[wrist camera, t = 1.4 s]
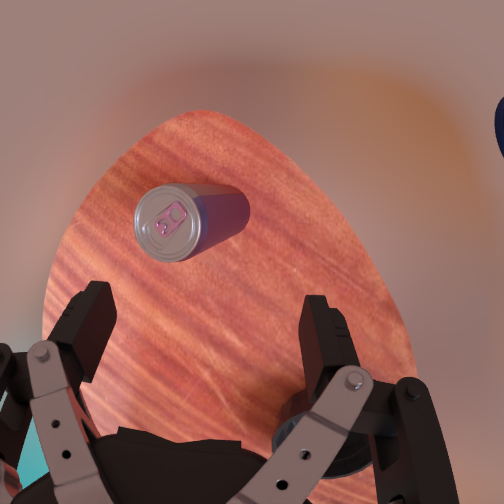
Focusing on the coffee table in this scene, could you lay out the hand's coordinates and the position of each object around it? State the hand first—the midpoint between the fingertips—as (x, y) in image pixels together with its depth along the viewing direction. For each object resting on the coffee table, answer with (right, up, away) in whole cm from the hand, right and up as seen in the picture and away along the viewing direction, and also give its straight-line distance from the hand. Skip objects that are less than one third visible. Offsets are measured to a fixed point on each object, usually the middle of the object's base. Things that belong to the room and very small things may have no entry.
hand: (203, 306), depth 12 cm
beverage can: (-1, +7, +24) cm, 25 cm away
